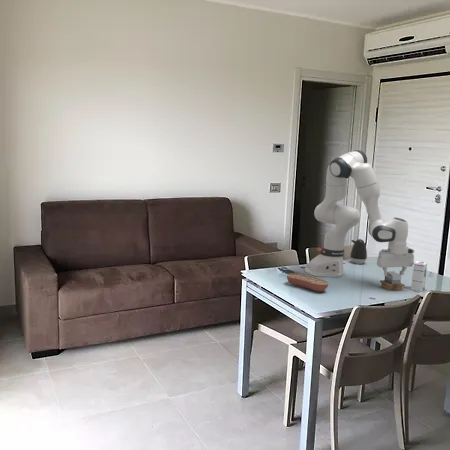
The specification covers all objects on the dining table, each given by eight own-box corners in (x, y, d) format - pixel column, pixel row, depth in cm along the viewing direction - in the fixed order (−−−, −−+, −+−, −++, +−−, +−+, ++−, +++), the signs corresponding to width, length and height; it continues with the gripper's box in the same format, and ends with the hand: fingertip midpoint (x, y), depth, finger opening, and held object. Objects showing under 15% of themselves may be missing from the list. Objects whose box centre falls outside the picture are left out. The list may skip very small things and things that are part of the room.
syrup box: (422, 291, 258) (425, 264, 255) (410, 289, 261) (413, 262, 258) (424, 289, 263) (427, 262, 260) (412, 286, 266) (416, 260, 263)
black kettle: (348, 260, 317) (350, 236, 315) (364, 261, 317) (367, 238, 314) (350, 264, 307) (352, 240, 305) (367, 265, 307) (370, 241, 304)
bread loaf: (282, 284, 258) (283, 275, 257) (293, 281, 265) (294, 272, 265) (321, 295, 243) (322, 285, 242) (331, 291, 251) (332, 281, 250)
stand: (388, 291, 256) (389, 285, 255) (379, 285, 264) (379, 280, 264) (404, 290, 258) (404, 284, 258) (394, 285, 267) (394, 279, 266)
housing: (391, 284, 257) (392, 275, 256) (384, 280, 263) (385, 271, 263) (400, 284, 258) (401, 275, 257) (392, 280, 265) (393, 271, 264)
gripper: (382, 251, 252) (380, 277, 255) (417, 250, 258) (414, 275, 261) (375, 248, 258) (373, 273, 261) (409, 247, 264) (406, 272, 267)
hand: (393, 274), depth 261 cm, fingers open, 8 cm apart
